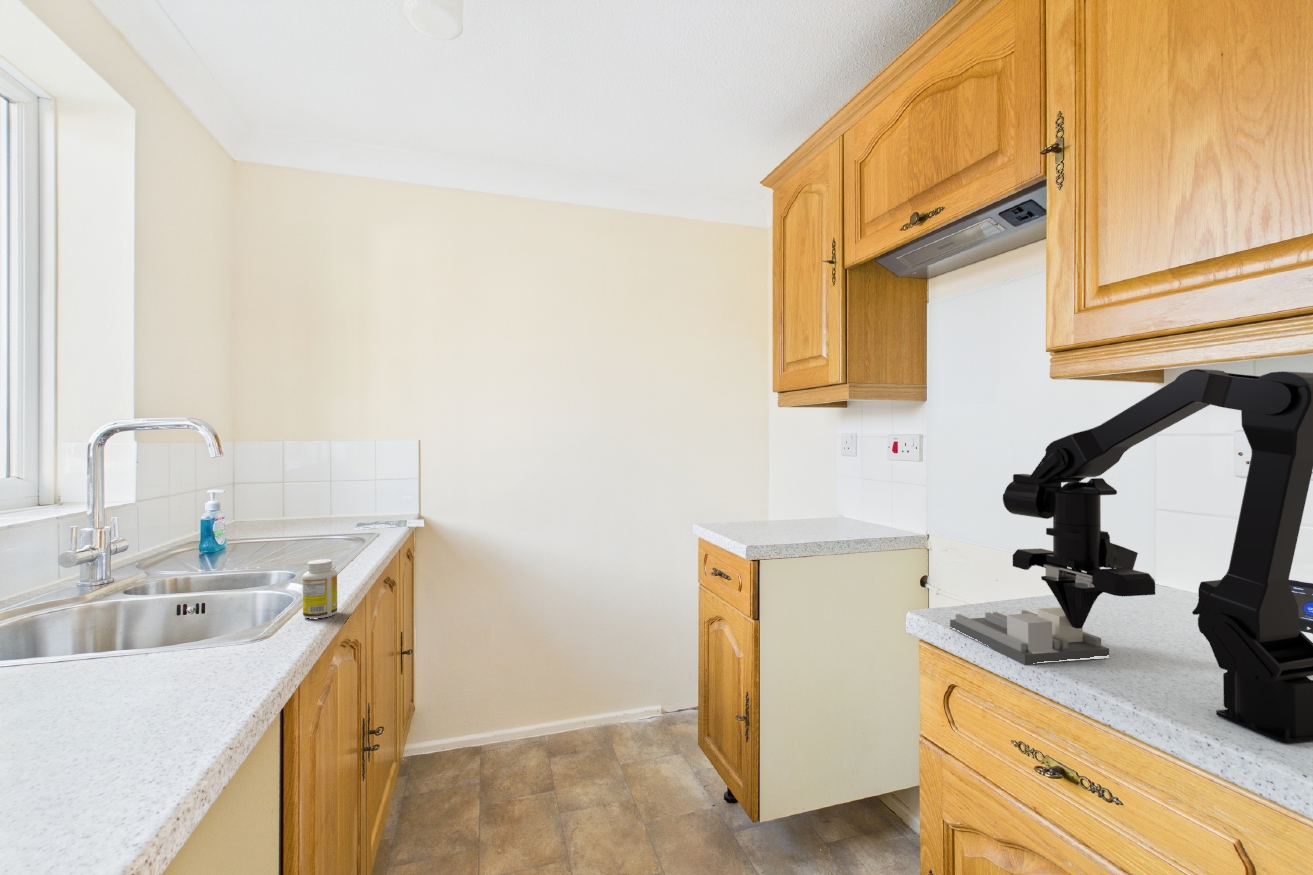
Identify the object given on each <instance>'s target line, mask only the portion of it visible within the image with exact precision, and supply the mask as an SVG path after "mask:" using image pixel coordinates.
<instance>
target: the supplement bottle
mask: <svg viewBox="0 0 1313 875" xmlns="http://www.w3.org/2000/svg"><path fill="white" fill-rule="evenodd" d="M337 613H338V571H337V570H336V569H333V560H332V559H328V558H327V559H326V558H322V559H320V558H319V559H313V560H310V561H308V562H307V571H306V572H305V573H303V575H302V617H303V618H304V617H305V618H304V619H306V618H311V619H314V618H323V619H325V618H324V617H328V618H330V617H329V616H331V617H332V615H333V616H335V615H336V614H337ZM334 614H335V615H334Z"/></svg>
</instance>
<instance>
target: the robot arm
mask: <svg viewBox="0 0 1313 875" xmlns="http://www.w3.org/2000/svg"><path fill="white" fill-rule="evenodd" d="M1210 405H1211V406H1215V407H1220V408H1224V409H1230V410H1236V411H1240V412H1241V413H1240V414H1241V418H1240V419H1241V427H1242V428H1241V429H1242V430H1243V432H1244V434H1245V436H1246V437H1245V438H1246V439H1247V442H1248V444H1249V446H1250V450H1251V456H1250V461H1249V466H1248V471H1247V476H1246V481H1245V485H1244V490H1243V491H1244V492H1243V496H1242V501H1241V504H1240V511H1239V516H1238V520H1237V526H1236V530H1235V531H1236V532H1235V536H1234V541H1233V547H1232V549H1231V550H1232V551H1231V556H1230V561H1229V566H1228V569H1227V571H1226V574H1224V576H1223V577H1222V578H1221V579H1215V580H1206V581H1201V582H1200V583H1199V586H1198V599H1197V600H1198V602H1197V604H1196V607H1195V608H1194V609H1193V611H1192V612H1191V614H1192V615H1194V616H1195V615H1196V616H1197V615H1198V617H1197V627H1198V631H1199V633H1201V634H1202V635H1203V636H1204V638H1205V639H1206V640H1207V642H1208V643H1209V645H1210V648H1211V651H1212V653H1213V656H1214V658H1215V660H1216V663H1217V665H1218V667H1219V668H1220V669H1222V670H1225V671H1226V672H1223V677H1222V678H1223V682H1222V683H1223V685H1222V686H1223V689H1222V690H1223V694H1222V695H1223V707H1224V708H1225V709H1218V710H1216V711H1215V714H1216V716H1217V715H1218V716H1217V717H1220V718H1222V719H1224V720H1227V721H1229V722H1232V723H1234V724H1236V725H1238V726H1242V727H1243V728H1246V729H1248V730H1250V731H1253V732H1255V733H1258V734H1259V735H1262V736H1265V737H1267V738H1269V739H1272V740H1274V741H1277V742H1279V743H1283V744H1293V743H1301V742H1310V741H1313V679H1310V678H1309V677H1311V676H1313V641H1312V640H1310V638H1308V637H1307V636H1306V635H1305V634H1304V633H1303V632H1302V631H1301V630H1300V618H1299V617H1300V616H1299V613H1300V612H1299V611H1300V610H1299V605H1298V603H1297V600H1296V598H1295V595H1294V593H1293V590H1292V588H1291V586H1290V574H1291V570H1292V566H1293V565H1292V564H1293V562H1294V558H1295V553H1296V552H1295V551H1296V547H1297V544H1298V538H1299V533H1300V529H1301V525H1302V519H1303V516H1304V511H1305V507H1306V503H1307V496H1308V492H1309V488H1310V485H1311V484H1310V483H1311V480H1312V479H1311V478H1312V474H1313V372H1305V371H1301V372H1300V371H1299V372H1298V371H1273V372H1272V371H1271V372H1268V373H1265V374H1263V375H1262V374H1261V375H1260V376H1259V375H1250V374H1242V373H1241V374H1239V373H1232V372H1231V373H1230V372H1226V371H1224V370H1218V369H1205V368H1203V369H1201V368H1195V369H1189V370H1187V371H1183V372H1182V373H1179V375H1178V376H1176V378H1175V379H1174V380H1173V381H1171V382H1169V383H1167V384H1166V385H1165V386H1163V387H1161V388H1160V389H1158V390H1156V391H1155V392H1153V393H1151V394H1150V395H1148V396H1146V397H1145V398H1142V399H1141V400H1139V401H1137V402H1136V403H1135V404H1133V405H1131V406H1130V407H1128V408H1126V409H1124V410H1123V411H1121V412H1120V413H1118V414H1116V415H1115V416H1113V417H1111V418H1109V419H1108V420H1106V421H1105V422H1103V423H1101V424H1100V425H1097V426H1095V427H1093V428H1089V429H1085V430H1082V431H1079V432H1073V433H1071V434H1068V435H1066V436H1064V437H1061V438H1058V439H1055V440H1053V441H1052V442H1050V443H1049V444H1048V445H1047V446H1046V447H1045V454H1044V456H1043V457H1042V459H1041V461H1040V462H1039V463H1038V465H1037V466H1036V467H1035V469H1034V470H1033V472H1031V474H1029V473H1014V474H1013V475H1012V481H1011V482H1010V483H1008V485H1007V486H1006V487H1005V490H1004V492H1003V495H1002V502H1003V505H1004V508H1005V509H1006V510H1007V511H1008V512H1009V513H1010V514H1011V515H1012V514H1013V515H1017V516H1024V517H1025V516H1026V517H1031V518H1038V519H1039V518H1040V519H1043V520H1044V519H1046V520H1047V519H1052V527H1045V529H1046V530H1045V534H1046V535H1047V536H1051V537H1052V539H1053V540H1052V543H1053V544H1052V547H1053V548H1052V549H1053V550H1049V549H1045V548H1022V549H1021V548H1018V549H1016V550H1015V551H1014V553H1013V554H1012V567H1014V568H1018V569H1021V570H1024V571H1025V570H1026V571H1029V570H1030V569H1031V568H1032V567H1033V566H1034V567H1035V566H1037V567H1041V568H1044V569H1045V575H1042V576H1041V581H1044V582H1045V583H1046V585H1047V586H1048V588H1049V590H1050V591H1051V592H1052V594H1053V596H1054V598H1055V599H1056V600H1057V603H1058V604H1059V606H1060V608H1062V610H1063V611H1064V613H1065V615H1066V617H1067V619H1068V621H1069V622H1070V624H1071V626H1072V627H1074V628H1076V629H1079V628H1082V627H1084V625H1085V622H1086V621H1087V618H1088V617H1089V614H1090V612H1091V610H1092V608H1093V606H1094V604H1095V603H1096V600H1098V598H1099V596H1100V595H1102V594H1103V593H1105V594H1109V595H1112V596H1115V597H1116V596H1117V597H1135V596H1136V597H1138V596H1139V597H1140V596H1141V597H1142V596H1155V595H1156V580H1155V579H1154V578H1153V577H1152V575H1151V574H1150V573H1148V572H1146V571H1145V572H1144V571H1139V570H1135V569H1134V568H1135V564H1136V560H1137V558H1138V554H1139V553H1138V552H1137V551H1134V550H1132V549H1129V548H1126V547H1124V546H1121V545H1119V544H1116V543H1113V542H1111V535H1110V534H1109V531H1106V530H1105V531H1104V530H1101V529H1102V528H1101V527H1102V525H1101V524H1102V522H1101V521H1102V518H1101V515H1102V512H1101V511H1102V510H1101V508H1102V507H1101V505H1102V504H1101V498H1102V497H1101V496H1114V495H1115V496H1116V495H1118V491H1117V489H1115V488H1114V487H1113V486H1111V485H1110V484H1108V483H1107V482H1106V480H1105V479H1104V478H1103V477H1099V476H1102V475H1103V474H1104V473H1106V472H1107V471H1108V470H1110V469H1111V468H1112V467H1114V466H1116V464H1117V463H1119V461H1120V460H1121V458H1122V457H1123V455H1124V454H1125V453H1126V452H1127V451H1128V450H1130V448H1132V447H1134V446H1136V445H1138V444H1140V443H1141V442H1143V441H1145V440H1147V439H1149V438H1151V437H1153V436H1155V435H1156V434H1158V433H1160V432H1162V431H1163V430H1165V429H1168V428H1170V427H1172V426H1173V425H1175V424H1177V423H1178V422H1181V421H1182V420H1184V419H1186V418H1188V417H1189V416H1192V415H1194V414H1196V413H1197V412H1199V411H1201V410H1203V409H1205V408H1207V407H1209V406H1210ZM1097 477H1098V478H1097ZM1087 478H1090V479H1089V480H1088V481H1087V482H1086V481H1084V482H1083V480H1084V479H1087ZM1064 483H1065V484H1064ZM1062 484H1063V485H1062Z"/></svg>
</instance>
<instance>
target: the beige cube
mask: <svg viewBox="0 0 1313 875" xmlns="http://www.w3.org/2000/svg"><path fill="white" fill-rule="evenodd" d="M1037 615H1038V616H1039V617H1041V618H1044V619H1047V620H1049V621H1052V634H1053V635H1056V636H1058V637H1061V638H1063V639H1066V640H1068V643H1070V642H1083V632H1084V631H1083V630H1084V629H1083V627H1084V626H1083V627H1082V628H1079V629H1076V628H1074V627H1072V626H1071V624H1070V622H1069V621H1068V619H1067V617H1066V615H1065V613H1064V611H1063V610H1062V608H1061V607H1048V608H1044V607H1043V608H1037Z"/></svg>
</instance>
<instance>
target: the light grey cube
mask: <svg viewBox="0 0 1313 875" xmlns="http://www.w3.org/2000/svg"><path fill="white" fill-rule="evenodd" d="M1006 616H1007V635H1008V636H1011V637H1013V638H1015V639H1017V640H1020V641H1022V642H1024V643H1026V650H1028V651H1031V650H1045V649H1053V641H1052V621H1049V620H1047V619H1044V618H1041V617H1039V616H1036V615H1033V614H1031V613H1028V614H1022V613H1014V614H1012V613H1011V614H1007V615H1006Z"/></svg>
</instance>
